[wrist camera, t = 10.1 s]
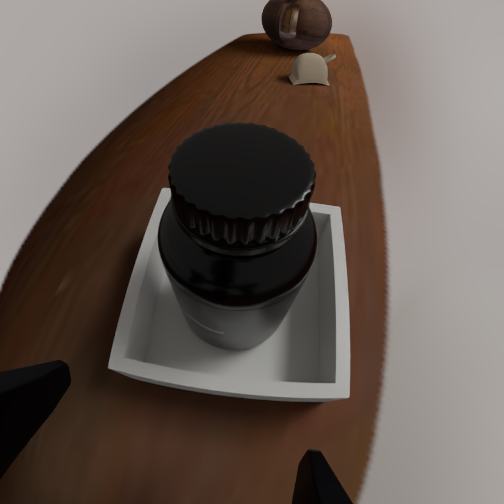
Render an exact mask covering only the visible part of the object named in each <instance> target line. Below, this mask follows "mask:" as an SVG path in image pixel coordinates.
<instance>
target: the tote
mask: <svg viewBox="0 0 504 504" xmlns="http://www.w3.org/2000/svg"><path fill="white" fill-rule="evenodd" d="M170 199H171V190H170V188H162V190H161V193H160V196H159V198H158V201H157V203H156V206H155V208H154V211H153V214H152V216H151V219H150V222H149V224H148V227H147V230H146V233H145V236H144V239H143V241H142V244H141V247H140V250H139V253H138V256H137V259H136V262H135V266H134V269H133V272H132V275H131V278H130V282H129V285H128V289H127V292H126V295H125V299H124V303H123V306H122V310H121V314H120V318H119V321H118V325H117V329H116V333H115V338H114V342H113V346H112V351H111V355H110V360H109V365H108V368H109V369H111V370H114V371H116V372H118V373H121V374H123V375H125V376H128V377H130V378H133V379H136V380H140V381H144V382H149V383H153V384H158V385H162V386H167V387H172V388H177V389H183V390H188V391H194V392H201V393H207V394H214V395H221V396H229V397H238V398H248V399H259V400H272V401H291V402H328V401H334V400H340V399H346V398H349V394H350V325H349V300H348V283H347V269H346V257H345V246H344V236H343V227H342V218H341V210H340V207H336V206H330V205H323V204H316V203H310V205H309V208H310V210H311V212H312V214H313V217H314V220H315V223H316V227H317V232H318V248H317V254H316V257H315V260H314V263H313V265H312V268H311V270H310V272H309V274H308V276H307V278H306V280H305V282H304V284H303V286H302V287H301V289H300V291H299V293H298V295H297V296H296V298H295V300H294V302H293V304H292V305H291V307H290V309H289V311H288V313H287V314H286V316H285V318H284V320H283V321H282V323H281V324H280V326H279V327H278V329H277V330H276V331H275V333H274V334H273V335H272V336H271V337H269V338H268V339H267V340H266V341H264V342H263V343H261V344H259V345H257V346H255V347H252V348H249V349H244V350H225V349H220V348H217V347H214V346H212V345H210V344H208V343H206V342H205V341H203V340H202V339H201V338H199V337H198V336H197V335H196V334H195V333H194V332H193V330H192V329H191V328H190V326H189V325H188V323H187V321H186V319H185V317H184V315H183V313H182V311H181V308H180V306H179V304H178V301H177V299H176V296H175V294H174V292H173V289H172V287H171V284H170V282H169V279H168V277H167V274H166V272H165V269H164V267H163V264H162V261H161V257H160V254H159V249H158V239H157V237H158V227H159V222H160V219H161V216H162V214H163V211H164V209H165V207H166V206H167V204H168V202H169V201H170Z"/></svg>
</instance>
